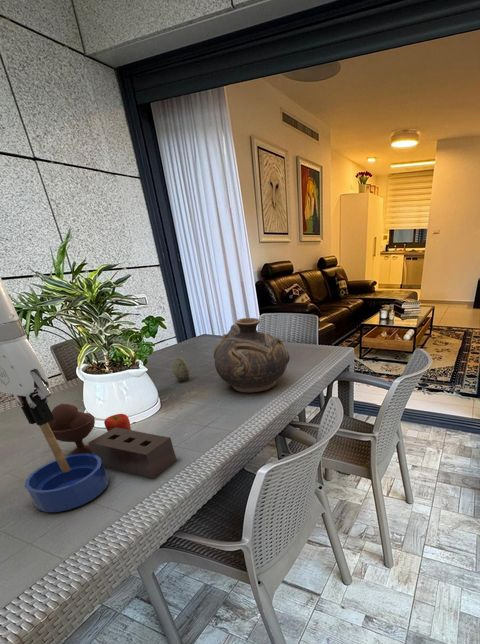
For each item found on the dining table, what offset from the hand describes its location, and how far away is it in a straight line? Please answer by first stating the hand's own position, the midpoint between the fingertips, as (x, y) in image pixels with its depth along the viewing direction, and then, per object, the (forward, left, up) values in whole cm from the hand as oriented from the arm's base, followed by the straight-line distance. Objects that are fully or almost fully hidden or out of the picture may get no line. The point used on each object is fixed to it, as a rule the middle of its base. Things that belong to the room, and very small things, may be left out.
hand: (42, 421), depth 73 cm
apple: (-9, +22, -19) cm, 31 cm away
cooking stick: (0, 0, -13) cm, 13 cm away
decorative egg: (-23, +66, -19) cm, 73 cm away
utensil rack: (+5, +14, -19) cm, 24 cm away
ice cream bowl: (-14, +13, -19) cm, 27 cm away
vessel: (+8, +70, -19) cm, 73 cm away
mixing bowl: (0, 0, -19) cm, 19 cm away
